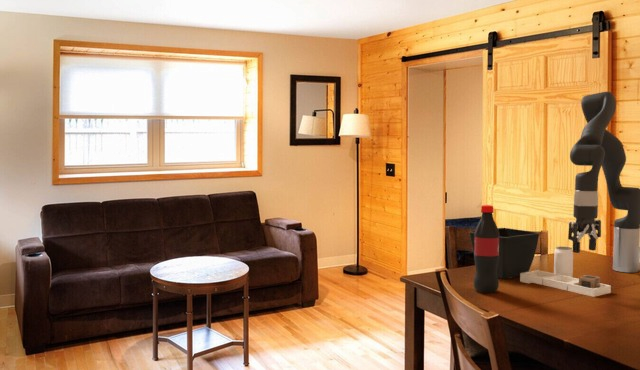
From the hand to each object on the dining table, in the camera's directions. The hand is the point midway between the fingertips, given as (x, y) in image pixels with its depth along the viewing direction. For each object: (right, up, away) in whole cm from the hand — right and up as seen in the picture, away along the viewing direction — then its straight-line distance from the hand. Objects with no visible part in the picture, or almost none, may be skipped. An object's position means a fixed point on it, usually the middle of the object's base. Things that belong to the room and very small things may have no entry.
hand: (584, 251), depth 209 cm
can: (+1, -13, +21) cm, 25 cm away
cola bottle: (-32, -15, +4) cm, 36 cm away
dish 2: (-4, -14, +8) cm, 16 cm away
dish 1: (-9, -13, +17) cm, 23 cm away
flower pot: (-19, -13, +29) cm, 37 cm away
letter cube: (+1, -14, 0) cm, 14 cm away
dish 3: (+1, -14, 0) cm, 15 cm away
